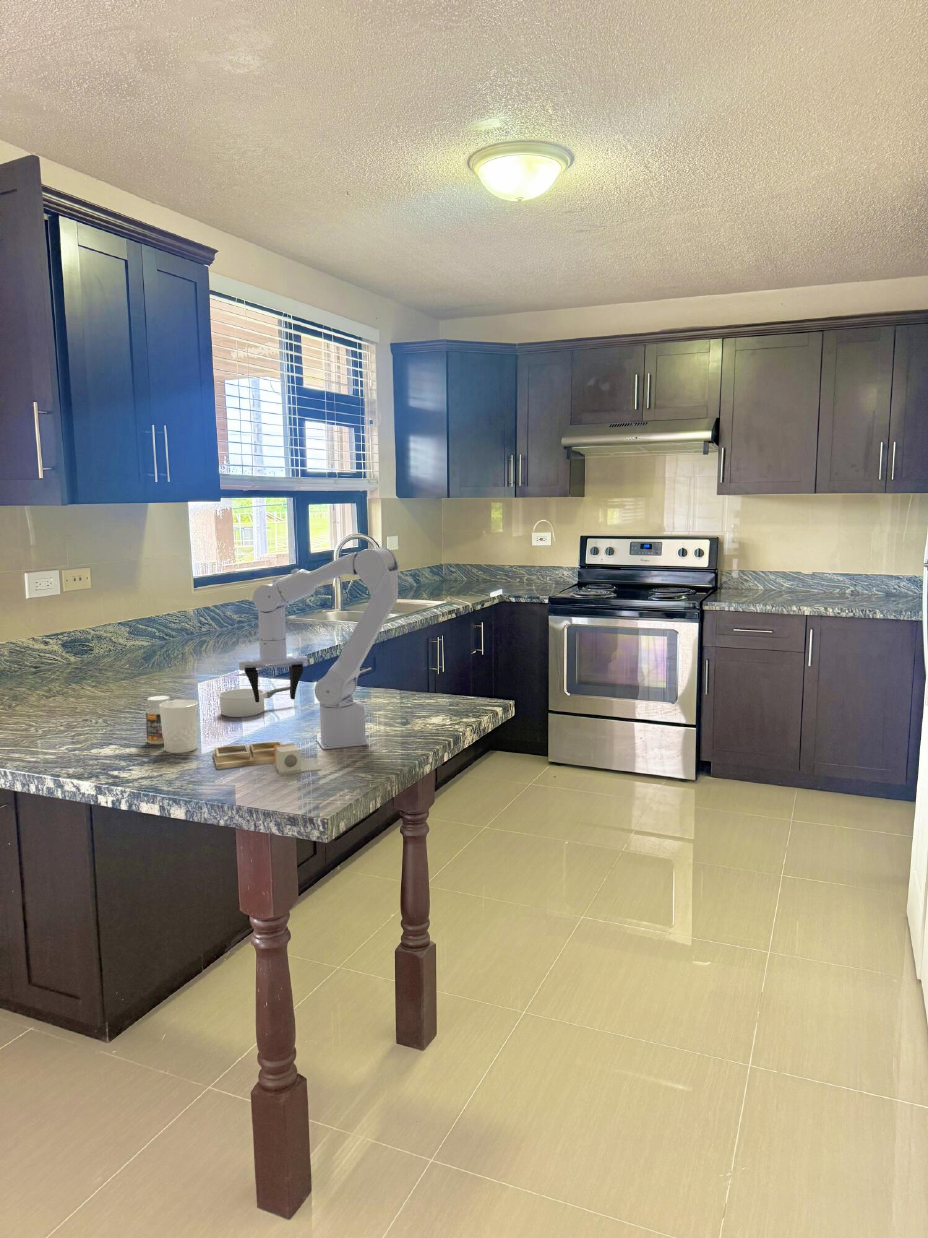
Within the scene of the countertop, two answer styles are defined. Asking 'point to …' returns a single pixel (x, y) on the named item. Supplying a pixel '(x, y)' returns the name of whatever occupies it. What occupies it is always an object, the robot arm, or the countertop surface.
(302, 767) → the mat
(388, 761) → the countertop surface
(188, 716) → the white cup
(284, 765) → the cube with grey knob
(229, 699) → the saucepan
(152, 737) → the pill bottle
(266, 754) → the socket block
